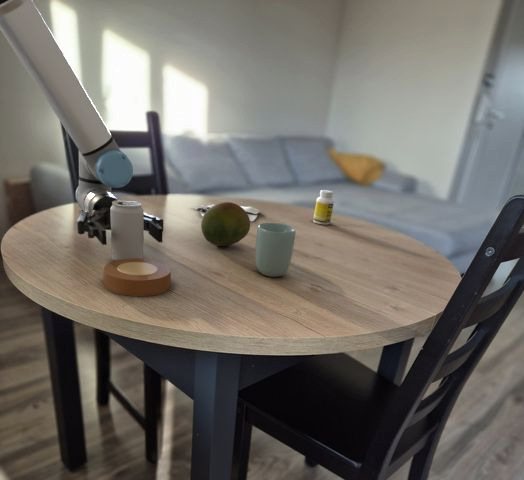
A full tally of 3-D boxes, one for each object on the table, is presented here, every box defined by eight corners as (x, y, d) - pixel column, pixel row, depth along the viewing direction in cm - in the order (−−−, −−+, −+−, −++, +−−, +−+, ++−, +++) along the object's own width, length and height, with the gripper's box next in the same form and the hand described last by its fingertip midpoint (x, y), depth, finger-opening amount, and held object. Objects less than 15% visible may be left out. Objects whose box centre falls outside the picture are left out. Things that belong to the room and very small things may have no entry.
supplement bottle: (327, 226, 149) (332, 193, 145) (310, 222, 151) (315, 190, 146) (332, 223, 154) (337, 191, 149) (316, 219, 155) (321, 188, 151)
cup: (295, 279, 102) (302, 232, 97) (261, 280, 99) (266, 232, 94) (280, 267, 108) (285, 222, 103) (247, 268, 105) (252, 222, 100)
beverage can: (108, 257, 101) (106, 198, 96) (138, 255, 104) (138, 198, 99) (116, 266, 97) (114, 206, 91) (147, 264, 100) (147, 206, 94)
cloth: (266, 212, 157) (267, 205, 156) (246, 225, 138) (247, 217, 137) (208, 202, 161) (209, 195, 160) (181, 214, 142) (181, 205, 141)
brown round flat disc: (93, 291, 85) (92, 274, 83) (117, 269, 95) (117, 254, 94) (160, 300, 84) (160, 283, 83) (177, 277, 95) (177, 262, 93)
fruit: (249, 241, 124) (253, 201, 119) (245, 255, 113) (249, 212, 108) (205, 235, 124) (207, 196, 120) (196, 249, 113) (198, 205, 108)
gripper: (153, 225, 118) (187, 252, 102) (53, 227, 107) (73, 258, 91) (153, 193, 115) (188, 216, 98) (49, 192, 104) (70, 218, 87)
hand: (133, 236), depth 94 cm, fingers open, 10 cm apart
